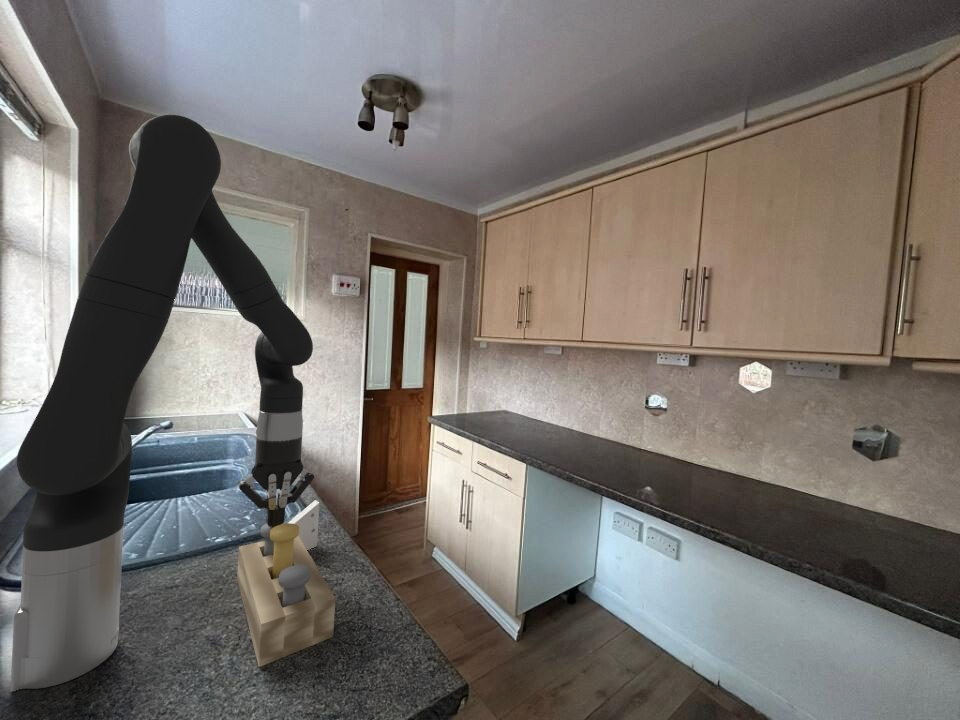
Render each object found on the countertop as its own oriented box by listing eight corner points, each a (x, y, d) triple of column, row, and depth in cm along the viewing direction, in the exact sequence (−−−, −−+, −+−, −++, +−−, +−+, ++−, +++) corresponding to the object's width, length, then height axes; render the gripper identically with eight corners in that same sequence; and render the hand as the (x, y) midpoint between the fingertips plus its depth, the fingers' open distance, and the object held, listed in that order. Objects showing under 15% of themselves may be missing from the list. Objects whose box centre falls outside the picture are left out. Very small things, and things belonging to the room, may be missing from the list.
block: (258, 667, 52) (261, 624, 52) (237, 578, 71) (238, 546, 70) (333, 636, 58) (335, 598, 58) (295, 562, 77) (296, 533, 77)
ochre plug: (269, 593, 61) (272, 538, 61) (264, 579, 65) (267, 527, 64) (299, 584, 64) (302, 531, 64) (292, 571, 67) (295, 521, 67)
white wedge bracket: (335, 530, 86) (319, 502, 83) (296, 566, 80) (276, 538, 76) (327, 524, 89) (311, 497, 85) (288, 559, 82) (269, 531, 79)
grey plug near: (278, 646, 55) (282, 585, 55) (272, 627, 58) (276, 570, 58) (310, 633, 58) (314, 575, 58) (303, 616, 61) (306, 561, 61)
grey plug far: (260, 584, 68) (263, 534, 67) (256, 572, 71) (259, 524, 71) (287, 576, 70) (290, 528, 70) (282, 565, 74) (284, 519, 74)
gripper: (240, 442, 63) (235, 545, 63) (323, 435, 71) (318, 526, 72) (235, 433, 69) (230, 527, 69) (312, 427, 77) (307, 511, 77)
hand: (275, 526), depth 70 cm, fingers closed
